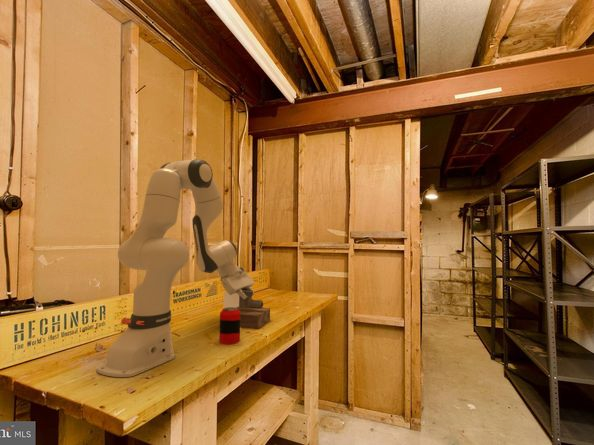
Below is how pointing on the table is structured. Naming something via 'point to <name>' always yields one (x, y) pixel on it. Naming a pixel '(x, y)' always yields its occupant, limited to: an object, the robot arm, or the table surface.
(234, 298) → the corner bracket
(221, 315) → the soda can
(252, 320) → the walnut block
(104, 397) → the table surface
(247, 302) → the pipe
